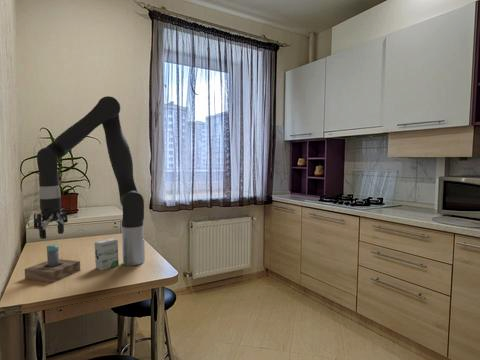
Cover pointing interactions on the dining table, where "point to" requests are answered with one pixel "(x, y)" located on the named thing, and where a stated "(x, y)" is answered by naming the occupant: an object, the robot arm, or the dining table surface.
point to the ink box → (106, 254)
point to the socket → (52, 271)
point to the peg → (53, 256)
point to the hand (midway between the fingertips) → (52, 236)
